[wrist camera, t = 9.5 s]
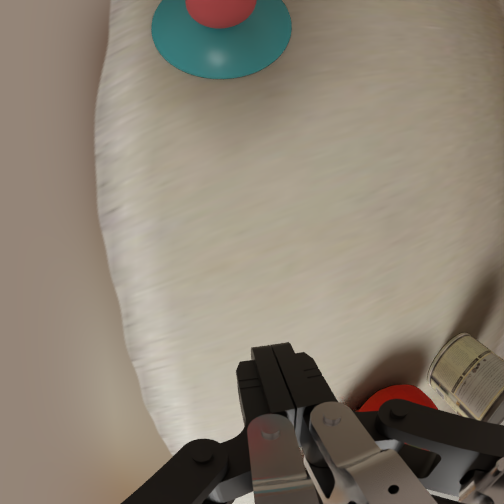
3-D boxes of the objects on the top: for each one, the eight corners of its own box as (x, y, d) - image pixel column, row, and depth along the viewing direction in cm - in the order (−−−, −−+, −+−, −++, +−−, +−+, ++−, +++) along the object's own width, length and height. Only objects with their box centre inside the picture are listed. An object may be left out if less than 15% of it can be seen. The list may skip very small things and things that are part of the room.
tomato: (424, 362, 33) (468, 405, 23) (396, 423, 36) (426, 465, 26) (343, 383, 31) (382, 445, 21) (322, 445, 34) (346, 498, 24)
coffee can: (479, 335, 35) (534, 376, 21) (448, 386, 37) (494, 433, 23) (451, 327, 32) (517, 379, 19) (415, 386, 34) (467, 445, 21)
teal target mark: (156, -19, 16) (156, -21, 15) (284, -21, 17) (285, -22, 17) (149, 85, 19) (149, 85, 19) (296, 80, 21) (296, 79, 21)
